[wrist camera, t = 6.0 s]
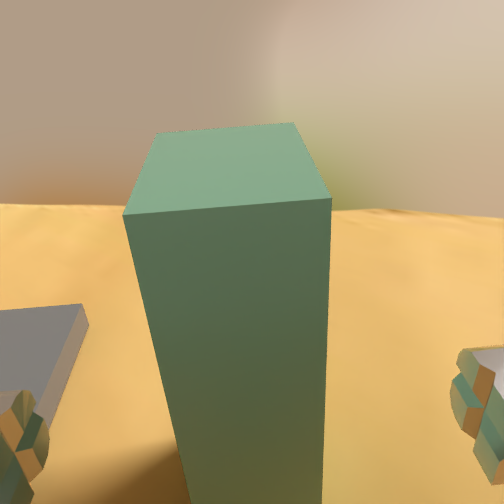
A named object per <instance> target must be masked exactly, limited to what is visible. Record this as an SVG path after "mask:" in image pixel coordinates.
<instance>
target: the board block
mask: <svg viewBox="0 0 504 504" xmlns="http://www.w3.org/2000/svg"><path fill="white" fill-rule="evenodd" d="M331 208H332V197H331V195H330V193H329V191H328V189H327V187H326V185H325V183H324V181H323V179H322V178H321V175H320V174H319V172H318V170H317V168H316V166H315V164H314V162H313V160H312V158H311V156H310V154H309V152H308V150H307V148H306V146H305V144H304V142H303V140H302V138H301V136H300V134H299V132H298V130H297V129H296V126H295V124H294V123H280V124H269V125H255V126H243V127H230V128H217V129H204V130H192V131H179V132H166V133H157V134H156V137H155V139H154V141H153V144H152V146H151V149H150V151H149V153H148V156H147V158H146V161H145V163H144V165H143V168H142V170H141V172H140V175H139V177H138V179H137V182H136V184H135V186H134V189H133V191H132V194H131V196H130V198H129V201H128V203H127V205H126V208H125V210H124V212H123V215H122V216H123V220H124V224H125V228H126V232H127V236H128V241H129V245H130V249H131V253H132V257H133V262H134V266H135V270H136V274H137V278H138V283H139V287H140V291H141V295H142V299H143V304H144V308H145V312H146V316H147V320H148V325H149V329H150V333H151V337H152V341H153V346H154V350H155V354H156V358H157V362H158V367H159V371H160V375H161V379H162V383H163V387H164V392H165V396H166V400H167V404H168V408H169V413H170V417H171V421H172V425H173V429H174V434H175V438H176V442H177V446H178V450H179V455H180V459H181V463H182V467H183V471H184V476H185V480H186V484H187V488H188V492H189V497H190V501H191V504H322V478H323V449H324V419H325V389H326V359H327V329H328V299H329V269H330V240H331V210H332V209H331Z"/></svg>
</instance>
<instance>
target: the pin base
mask: <svg viewBox="0 0 504 504" xmlns="http://www.w3.org/2000/svg"><path fill="white" fill-rule="evenodd" d="M88 326H89V323H88V320H87V317H86V314H85V311H84V308H83V305H82V304H71V305H59V306H48V307H36V308H24V309H12V310H1V311H0V391H13V390H29V391H30V392H31V393H32V395H33V397H34V399H35V401H36V405H35V407H34V409H33V412H34V413H36V414H37V415H39V416H41V417H42V418H44V420H45V422H46V424H47V427H48V430H49V428H50V425H51V422H52V420H53V417H54V415H55V412H56V409H57V407H58V404H59V402H60V399H61V396H62V394H63V391H64V389H65V386H66V383H67V381H68V378H69V376H70V373H71V370H72V368H73V365H74V363H75V360H76V357H77V355H78V352H79V350H80V347H81V344H82V342H83V339H84V337H85V334H86V331H87V329H88Z"/></svg>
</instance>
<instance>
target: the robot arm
mask: <svg viewBox="0 0 504 504" xmlns="http://www.w3.org/2000/svg"><path fill="white" fill-rule="evenodd" d="M456 364H457V366H458V368H459V369H460V371H461V373H460V374H459V375H457V376H456V377H455V378H454V379H453V380H452V384H451V389H450V398H451V406H452V410H453V413H454V415H455V418H456V420H457V422H458V424H459V426H460V428H461V430H462V431H464V432H465V433H467V434H468V435H470V436H471V437H472V438H474V439H475V444H474V448H473V452H474V454H475V456H476V458H477V460H478V461H479V463H480V465H481V467H482V469H483V471H484V472H485V474H486V476H487V478H488V480H489V482H490V483H491V485H500V484H504V345H495V346H485V347H476V348H466V349H463V350H462V351H461V352H460V353H459V355H458V359H457V363H456ZM35 405H36V401H35V399H34V397H33V395H32V393H31V392H30V391H29V390H13V391H0V504H31V501H32V498H33V495H34V491H33V489H32V486H31V483H30V482H31V481H32V480H33V479H34V478H35V477H36V476H37V475H38V474H39V473H40V472H41V471H42V470H43V468H44V465H45V462H46V459H47V456H48V449H49V440H50V438H49V432H48V427H47V424H46V422H45V420H44V418H42V417H41V416H39V415H37V414H36V413H34V412H33V409H34V407H35Z"/></svg>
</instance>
